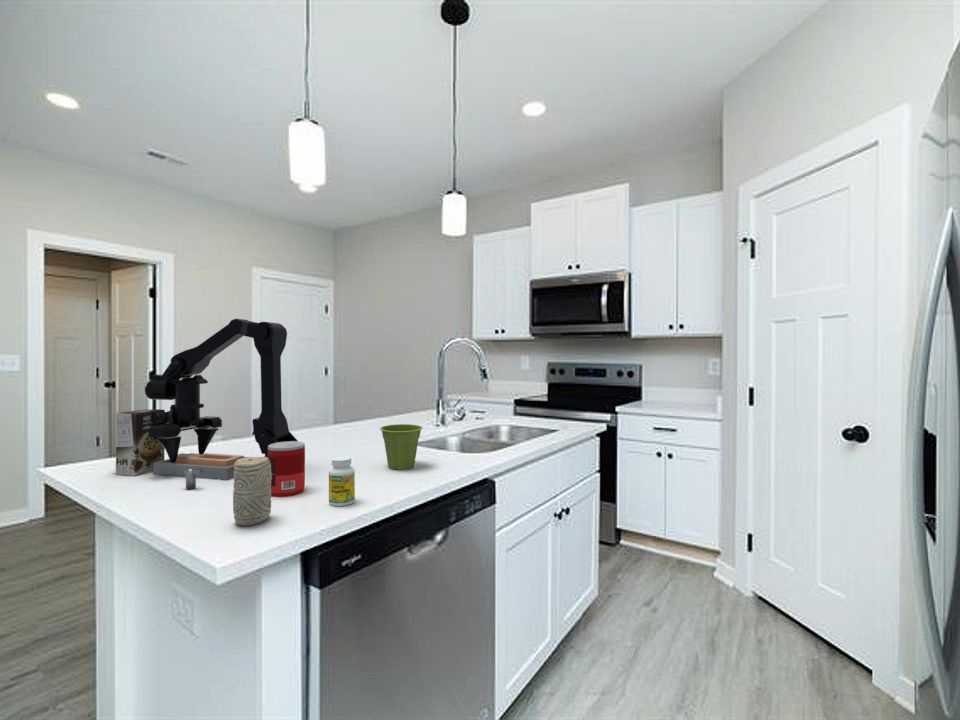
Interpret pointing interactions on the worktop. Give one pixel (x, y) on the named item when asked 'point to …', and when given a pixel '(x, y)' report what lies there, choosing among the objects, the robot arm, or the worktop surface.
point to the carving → (252, 490)
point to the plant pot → (401, 444)
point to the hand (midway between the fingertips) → (187, 458)
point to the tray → (178, 469)
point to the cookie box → (136, 443)
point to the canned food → (287, 468)
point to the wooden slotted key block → (208, 459)
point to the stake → (191, 477)
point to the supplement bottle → (341, 482)
